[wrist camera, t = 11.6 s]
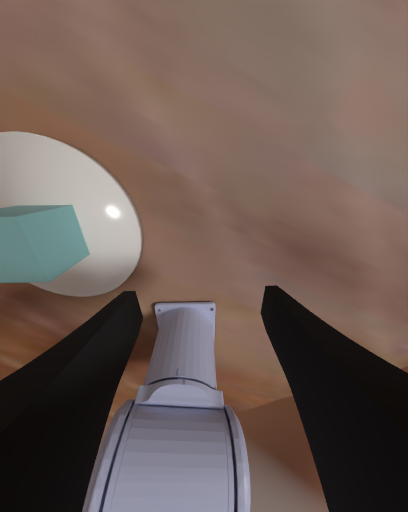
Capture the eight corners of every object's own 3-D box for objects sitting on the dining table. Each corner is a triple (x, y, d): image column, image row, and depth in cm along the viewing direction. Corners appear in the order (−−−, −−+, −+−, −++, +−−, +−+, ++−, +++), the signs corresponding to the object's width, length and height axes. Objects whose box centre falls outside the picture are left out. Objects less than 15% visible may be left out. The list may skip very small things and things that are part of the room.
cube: (90, 254, 17) (49, 281, 12) (41, 255, 17) (-17, 283, 12) (72, 204, 15) (15, 216, 10) (16, 205, 15) (-66, 217, 10)
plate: (152, 289, 20) (150, 295, 19) (25, 291, 20) (15, 297, 19) (125, 135, 13) (119, 131, 12) (-71, 135, 13) (-95, 131, 12)
